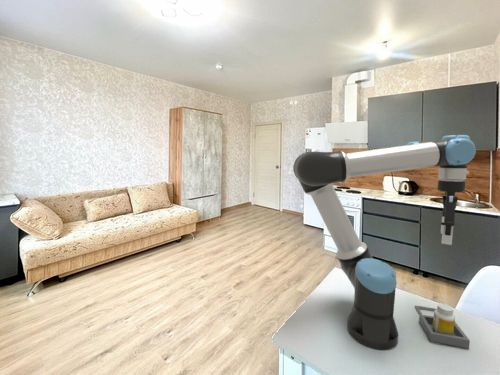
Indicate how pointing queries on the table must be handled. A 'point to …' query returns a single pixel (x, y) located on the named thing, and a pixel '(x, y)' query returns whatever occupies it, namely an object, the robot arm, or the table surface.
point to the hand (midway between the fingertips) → (445, 238)
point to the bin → (455, 341)
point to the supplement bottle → (443, 319)
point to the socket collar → (423, 309)
